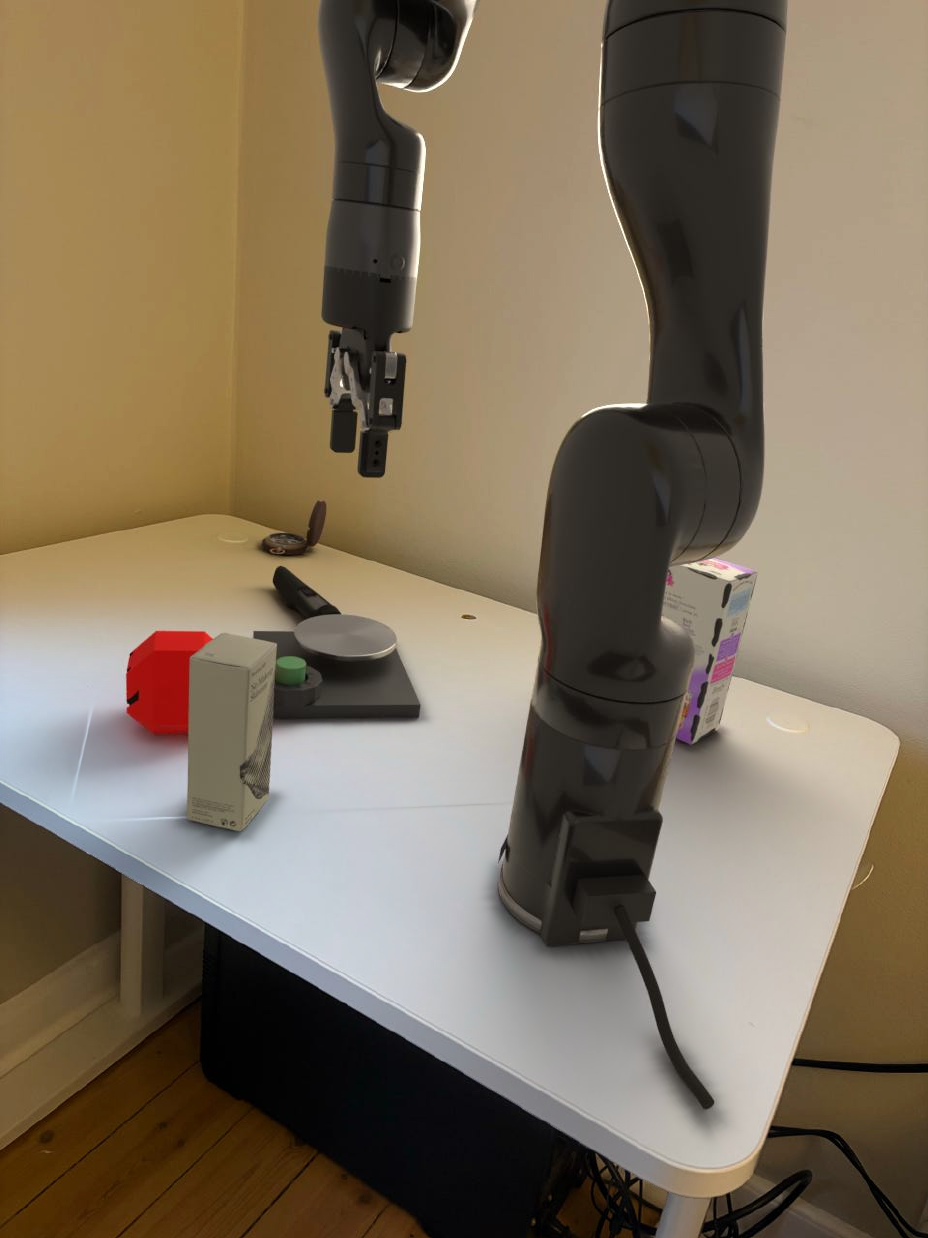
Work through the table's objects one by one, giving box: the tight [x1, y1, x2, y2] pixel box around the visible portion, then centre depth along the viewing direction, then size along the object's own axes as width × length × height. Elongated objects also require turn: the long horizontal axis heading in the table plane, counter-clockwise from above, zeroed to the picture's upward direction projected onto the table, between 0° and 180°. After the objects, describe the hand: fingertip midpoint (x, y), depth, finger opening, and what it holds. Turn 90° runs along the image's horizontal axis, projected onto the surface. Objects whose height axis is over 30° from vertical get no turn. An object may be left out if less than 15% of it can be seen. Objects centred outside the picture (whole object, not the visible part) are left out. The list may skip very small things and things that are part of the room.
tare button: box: [275, 656, 306, 685], centre depth 81 cm, size 3×3×2 cm
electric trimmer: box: [272, 565, 342, 620], centre depth 102 cm, size 4×16×3 cm, turn 31°
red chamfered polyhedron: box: [125, 630, 214, 736], centre depth 76 cm, size 8×8×8 cm
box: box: [186, 632, 277, 832], centre depth 65 cm, size 5×4×13 cm
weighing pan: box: [293, 613, 398, 662], centre depth 90 cm, size 10×10×1 cm
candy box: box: [662, 557, 759, 746], centre depth 87 cm, size 14×6×16 cm, turn 47°
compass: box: [261, 498, 328, 556], centre depth 120 cm, size 8×8×7 cm
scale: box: [252, 630, 421, 720], centre depth 88 cm, size 16×14×3 cm
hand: (355, 463), depth 80 cm, fingers open, 8 cm apart
